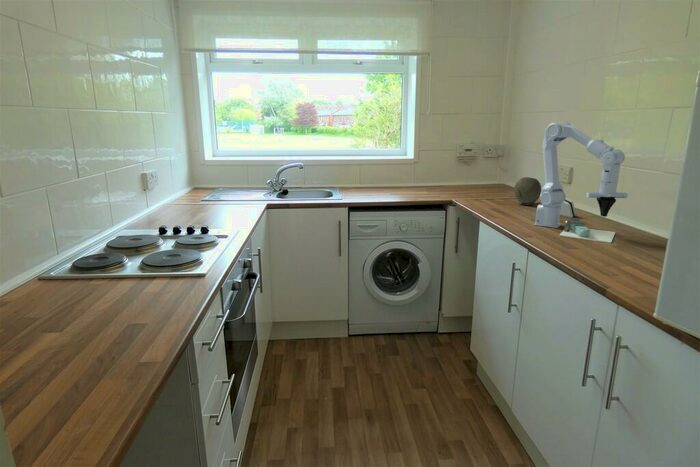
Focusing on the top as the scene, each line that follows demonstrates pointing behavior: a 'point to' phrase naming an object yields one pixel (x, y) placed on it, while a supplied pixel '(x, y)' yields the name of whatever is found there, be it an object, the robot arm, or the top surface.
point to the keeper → (567, 223)
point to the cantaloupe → (527, 190)
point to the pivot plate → (591, 234)
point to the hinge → (568, 208)
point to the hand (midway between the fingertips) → (603, 216)
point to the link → (580, 230)
